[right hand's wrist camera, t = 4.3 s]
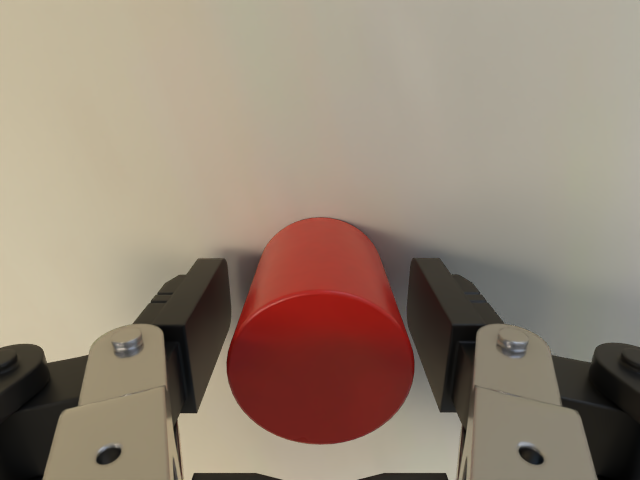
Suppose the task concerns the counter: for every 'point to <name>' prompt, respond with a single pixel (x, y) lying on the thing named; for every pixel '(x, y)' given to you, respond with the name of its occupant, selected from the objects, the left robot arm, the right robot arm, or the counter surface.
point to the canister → (320, 337)
